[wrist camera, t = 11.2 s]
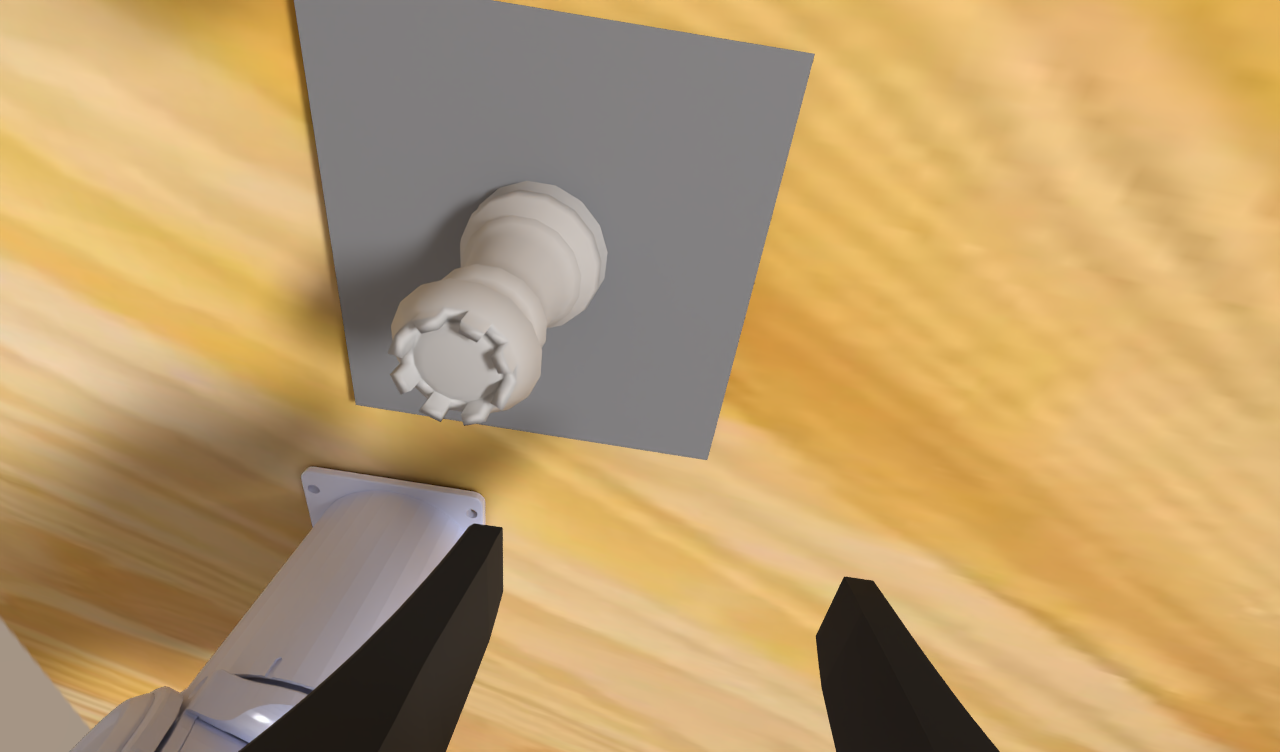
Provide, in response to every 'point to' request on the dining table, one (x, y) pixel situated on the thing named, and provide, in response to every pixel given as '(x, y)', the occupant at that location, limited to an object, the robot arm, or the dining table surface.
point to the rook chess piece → (498, 302)
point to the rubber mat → (570, 159)
